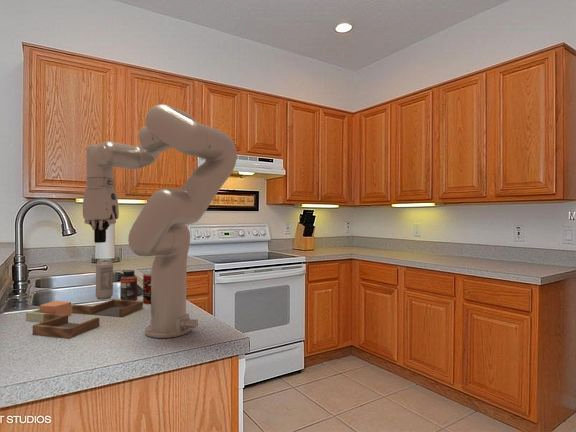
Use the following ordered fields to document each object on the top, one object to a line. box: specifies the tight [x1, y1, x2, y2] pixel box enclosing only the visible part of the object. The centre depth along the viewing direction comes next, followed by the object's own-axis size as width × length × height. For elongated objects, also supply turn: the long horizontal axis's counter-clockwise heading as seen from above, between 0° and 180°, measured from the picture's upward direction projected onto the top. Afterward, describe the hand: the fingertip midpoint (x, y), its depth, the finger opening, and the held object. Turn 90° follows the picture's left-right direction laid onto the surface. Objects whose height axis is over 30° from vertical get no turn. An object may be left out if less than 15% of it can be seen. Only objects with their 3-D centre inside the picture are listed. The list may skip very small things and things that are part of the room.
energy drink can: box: [95, 258, 114, 301], centre depth 143 cm, size 6×6×15 cm
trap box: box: [25, 299, 144, 339], centre depth 115 cm, size 26×32×2 cm
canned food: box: [142, 271, 151, 305], centre depth 138 cm, size 8×8×11 cm
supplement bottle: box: [120, 269, 138, 301], centre depth 141 cm, size 6×6×11 cm
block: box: [39, 300, 72, 317], centre depth 117 cm, size 6×6×4 cm
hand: (100, 242), depth 116 cm, fingers closed
